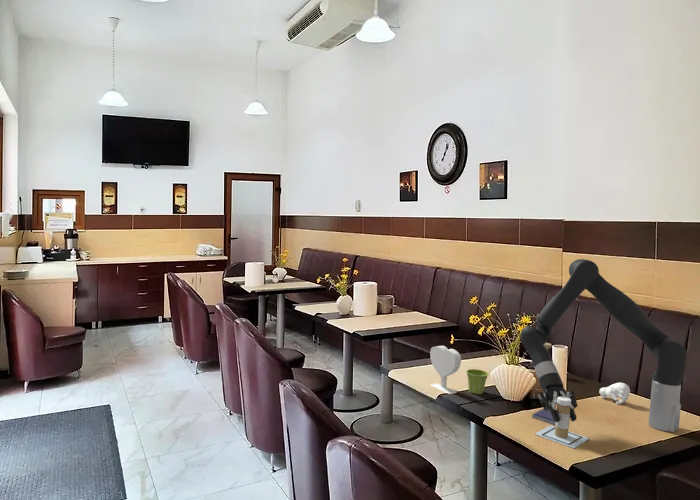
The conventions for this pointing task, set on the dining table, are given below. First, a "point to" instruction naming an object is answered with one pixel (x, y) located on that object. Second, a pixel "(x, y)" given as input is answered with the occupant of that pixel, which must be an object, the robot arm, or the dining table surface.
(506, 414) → the dining table surface
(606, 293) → the robot arm
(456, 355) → the heart sculpture
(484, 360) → the dining table surface
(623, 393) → the white bear figurine
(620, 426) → the dining table surface
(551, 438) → the print card
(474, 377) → the plant pot
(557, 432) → the sprinkles bottle
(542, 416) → the ink pad
